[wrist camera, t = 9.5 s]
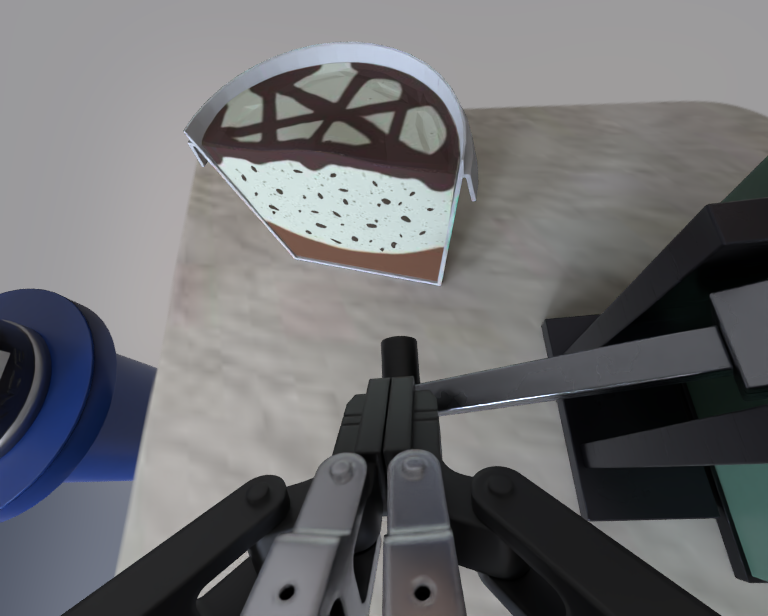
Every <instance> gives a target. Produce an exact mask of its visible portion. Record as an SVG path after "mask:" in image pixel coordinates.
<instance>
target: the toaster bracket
mask: <svg viewBox="0 0 768 616" xmlns="http://www.w3.org/2000/svg"><path fill="white" fill-rule="evenodd" d="M765 279H768V197H765V198H757V199H748V200H740V201H731V202H723V203H714V204H708V205H706V206H705V207H704V208H703V209H702V210H701V211H700V212H699V213H698V214H697V215H696V216H695V217H694V218H693V219H692V220H691V221H690V222H689V223H688V224H687V225H686V226H685V227H684V229H683V230H682V231H681V232H680V233H679V234H678V235H677V236H676V237H675V238H674V239H673V240H672V241H671V242H670V243H669V244H668V245H667V246H666V247H665V248H664V249H663V250H662V252H661V253H660V254H659V255H658V256H657V257H656V258H655V259H654V260H653V261H652V262H651V263H650V264H649V265H648V266H647V267H646V268H645V269H644V270H643V271H642V272H641V273H640V274H639V276H638V277H637V278H636V279H635V280H634V281H633V282H632V283H631V284H630V285H629V286H628V287H627V288H626V289H625V290H624V291H623V292H622V293H621V294H620V295H619V296H618V297H617V299H616V300H615V301H614V302H613V303H612V304H611V305H610V306H609V307H608V308H607V309H606V310H605V311H604V312H603V313H602V314H598V315H587V316H575V317H564V318H553V319H545V321H544V322H543V324H542V326H541V327H542V331H543V336H544V341H545V346H546V350H547V355H548V358H550V357H555V356H560V355H565V354H570V353H575V352H580V351H585V350H590V349H595V348H600V347H605V346H610V345H615V344H619V343H624V342H629V341H634V340H639V339H644V338H649V337H654V336H659V335H664V334H669V333H674V332H679V331H684V330H689V329H694V328H699V327H704V326H709V325H713V323H712V318H711V309H710V299H709V294H710V293H711V292H715V291H719V290H723V289H727V288H732V287H736V286H740V285H744V284H748V283H753V282H757V281H761V280H765ZM557 403H558V408H559V413H560V417H561V422H562V427H563V432H564V436H565V441H566V446H567V451H568V456H569V460H570V465H571V470H572V475H573V479H574V484H575V489H576V494H577V499H578V503H579V508H580V513H581V517H582V518H584V519H585V520H587V521H627V520H667V519H707V518H720V514H719V511H718V508H717V505H716V502H715V499H714V496H713V493H712V490H711V487H710V484H709V481H708V478H707V475H706V472H705V469H704V466H708V465H744V464H768V404H766V405H761V406H756V407H752V408H747V409H742V410H738V411H733V412H729V413H724V414H719V415H715V416H710V417H705V418H701V419H696V420H691V421H688V418H687V415H686V412H685V409H684V406H683V403H682V400H681V397H680V394H679V391H678V388H677V385H676V384H670V385H663V386H656V387H649V388H641V389H634V390H627V391H620V392H612V393H605V394H598V395H591V396H584V397H576V398H569V399H562V400H557Z"/></svg>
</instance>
